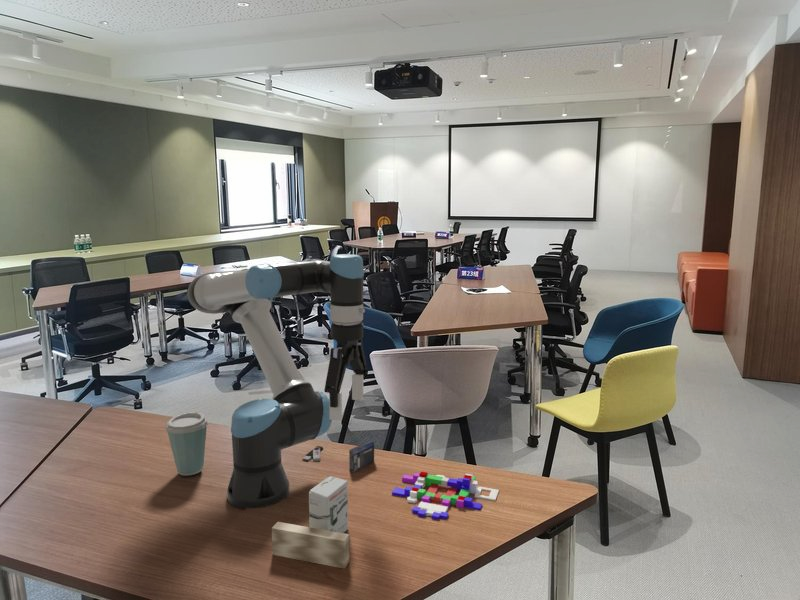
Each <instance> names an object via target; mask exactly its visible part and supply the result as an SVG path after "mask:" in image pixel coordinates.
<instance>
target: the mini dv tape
mask: <svg viewBox="0 0 800 600" xmlns="http://www.w3.org/2000/svg"><path fill="white" fill-rule="evenodd" d="M348 453H349V455H348V456H349V457H348V458H349V459H348V460H349V472H353V473H355V472H357V471H359V470H361V469H364V468H365V467H367V466H369V465H371V464H373V463H374V462H375V443H374V441H372V440H369V441H367V442H364V443H362V444H360V445H357V446H356V447H352V448H350V449H349V451H348Z"/></svg>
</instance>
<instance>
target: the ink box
mask: <svg viewBox="0 0 800 600" xmlns="http://www.w3.org/2000/svg"><path fill="white" fill-rule="evenodd" d="M348 486H349V485H348V480H346V479H342V478H339V477H336V476H327V477H326V478H325V479H324V480H322V481H321V482H319V483H318V484H316V485H315V486H314V487H313V488H311V489H310V490H309V492H308V511H309V512H308V515H309V516H308V517H309V518H308V520H309V522H308V523H309V525H308V527H311V528H316V529H322V530H328V531H333V532H339V533H345V532H347V531H348V530H349V529H348V528H349V514H348V513H349V507H348V506H349V501H348V496H349V495H348V494H349V493H348V490H349V489H348Z"/></svg>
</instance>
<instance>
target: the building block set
mask: <svg viewBox="0 0 800 600" xmlns="http://www.w3.org/2000/svg"><path fill="white" fill-rule="evenodd" d="M401 482H403V483H409V484H413V485H414V486H405V488H401V487H394V489H393V490H392V491H391V495H392V496H395V497H396V496H398V497H401V498H405V497H406V501H407V503H411V504H416V503H418V499H420V500H421V501H420V502H419V504H418V506H416V505H414V506H413V508H412V509H411V514H412V513H413V514H417V516H418V517H421V518H425V517H426V516H427V517H431V519H432V520H438V521H440V519H444V520H447V519H448V517H449V512H448V510H449V508H450V506H451V505H455V506H456V508H459V509H464V508H467V509H470V510H471V509H473V510H477V511H481V509H482V507H483V503H481V502H474V501H473V497H470V494H473V495H474V498H477V499H482V500H488V501H494V502H496V500H497V497H498V494H499V492H500V490H499V489H497V488H496V489H495V488H490V487H484V486H479V482H478V480H476V476H475V475H473V473H472V474H471V473H465V474H464V476H463V478H461V477H458V478H453V477H452V478H451V477H446V476H445V475H443V474H436V475H435V474H429V473H428V472H427V471H420V472H414V474H412V475H409V474H403V475H402V477H401ZM426 486H427V487H429V488H428V489H427V490H426V489H424V488H425V487H426ZM439 489H445V490H447V491H446V493H445V494H439V493H437V492H438V490H439ZM482 491H485V492H486V491H487V492H489V495H488V496H487V495H483V494H482V493H481V492H482ZM457 492H459V493H458V495H456V494H457ZM431 501H432V502H435V503H440V504H435V503H430V502H431Z"/></svg>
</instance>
